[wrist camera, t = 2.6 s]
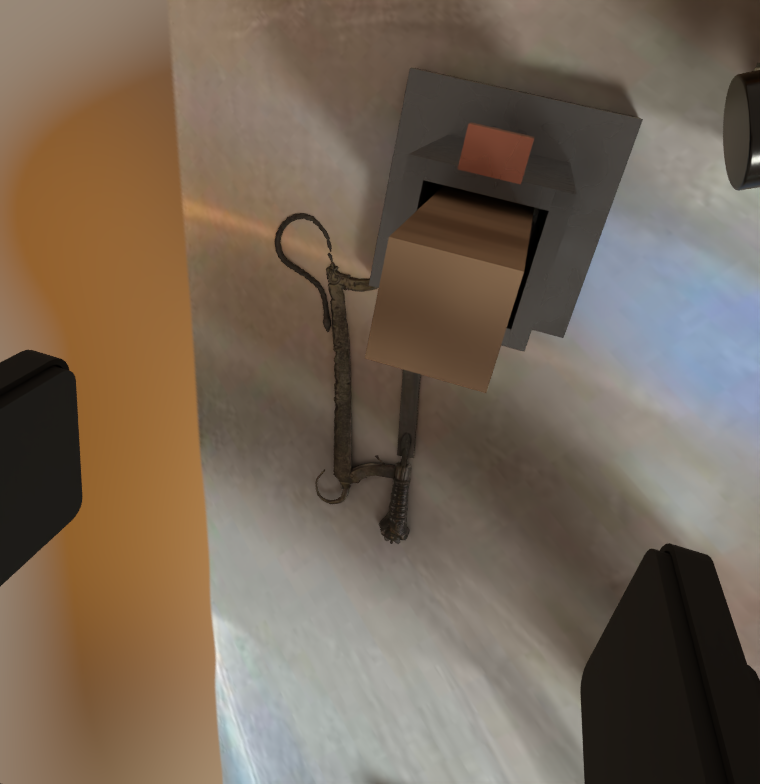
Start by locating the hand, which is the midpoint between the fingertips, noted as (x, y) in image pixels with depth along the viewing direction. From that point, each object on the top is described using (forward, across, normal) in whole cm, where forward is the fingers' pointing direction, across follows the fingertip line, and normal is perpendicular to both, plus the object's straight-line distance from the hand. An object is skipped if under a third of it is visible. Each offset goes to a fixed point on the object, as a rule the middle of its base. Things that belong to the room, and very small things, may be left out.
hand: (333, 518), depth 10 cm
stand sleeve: (+30, 0, 0) cm, 30 cm away
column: (+28, 0, 0) cm, 28 cm away
